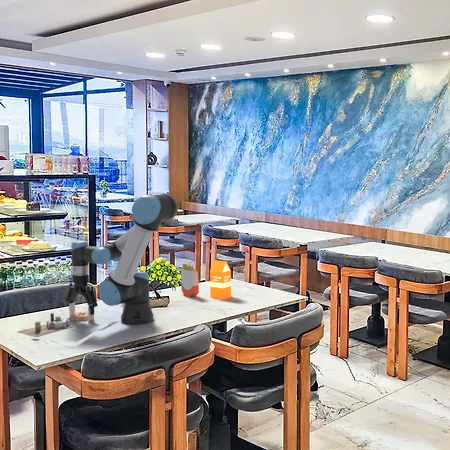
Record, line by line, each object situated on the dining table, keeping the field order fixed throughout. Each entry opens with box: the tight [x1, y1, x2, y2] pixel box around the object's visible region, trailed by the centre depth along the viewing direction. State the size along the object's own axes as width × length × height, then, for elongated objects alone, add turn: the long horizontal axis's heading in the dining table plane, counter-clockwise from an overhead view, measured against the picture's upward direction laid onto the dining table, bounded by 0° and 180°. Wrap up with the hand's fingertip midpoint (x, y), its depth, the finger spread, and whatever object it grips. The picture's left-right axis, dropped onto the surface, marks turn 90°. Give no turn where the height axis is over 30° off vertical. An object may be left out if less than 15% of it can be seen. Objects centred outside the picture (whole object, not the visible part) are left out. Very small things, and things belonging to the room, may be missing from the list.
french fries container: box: [180, 263, 200, 298], centre depth 319 cm, size 5×11×18 cm, turn 39°
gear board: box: [17, 316, 79, 342], centre depth 251 cm, size 14×22×6 cm, turn 143°
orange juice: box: [209, 259, 232, 300], centre depth 315 cm, size 8×9×20 cm
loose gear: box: [70, 311, 88, 322], centre depth 268 cm, size 10×10×4 cm
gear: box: [46, 312, 71, 329], centre depth 255 cm, size 10×10×6 cm
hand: (81, 319), depth 269 cm, fingers open, 13 cm apart
